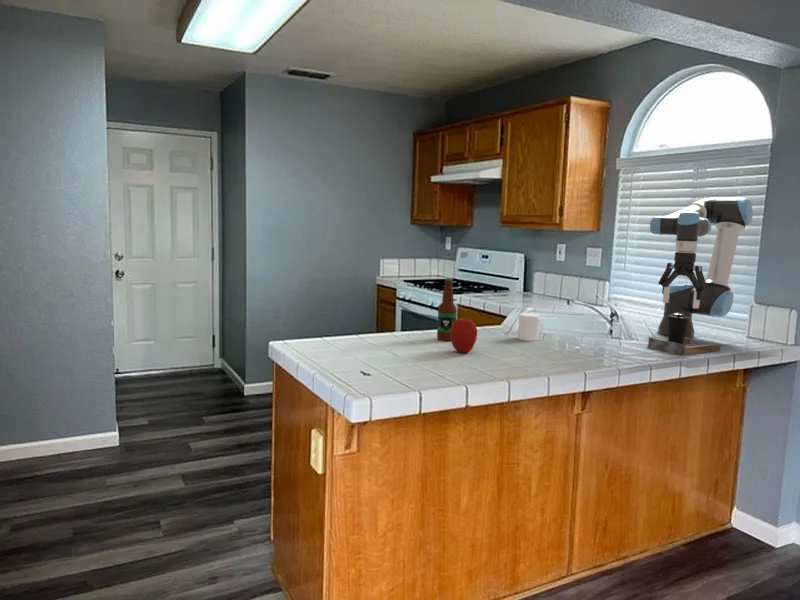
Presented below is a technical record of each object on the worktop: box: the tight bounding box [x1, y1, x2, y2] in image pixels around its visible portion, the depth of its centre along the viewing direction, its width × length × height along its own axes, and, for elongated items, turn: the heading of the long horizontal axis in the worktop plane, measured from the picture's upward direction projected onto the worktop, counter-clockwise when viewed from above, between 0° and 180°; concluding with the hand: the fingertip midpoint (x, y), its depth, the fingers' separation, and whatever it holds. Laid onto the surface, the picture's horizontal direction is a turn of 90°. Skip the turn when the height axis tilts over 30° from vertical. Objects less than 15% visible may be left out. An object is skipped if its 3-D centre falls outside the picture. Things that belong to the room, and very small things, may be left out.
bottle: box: [436, 277, 457, 342], centre depth 241 cm, size 7×7×25 cm
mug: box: [517, 312, 544, 342], centre depth 250 cm, size 8×10×12 cm
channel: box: [647, 336, 721, 356], centre depth 241 cm, size 15×24×4 cm, turn 118°
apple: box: [450, 315, 478, 354], centre depth 220 cm, size 10×10×14 cm
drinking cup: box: [668, 300, 689, 344], centre depth 237 cm, size 8×8×20 cm
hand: (680, 305), depth 236 cm, fingers open, 13 cm apart
